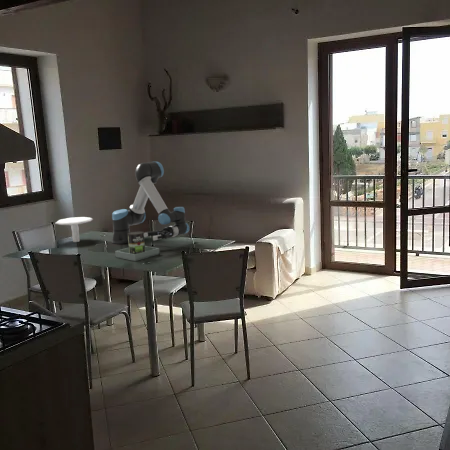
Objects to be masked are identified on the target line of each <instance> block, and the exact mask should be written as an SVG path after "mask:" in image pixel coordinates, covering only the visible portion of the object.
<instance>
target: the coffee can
mask: <svg viewBox="0 0 450 450" xmlns="http://www.w3.org/2000/svg"><path fill="white" fill-rule="evenodd" d="M144 233H145V232H144V231H139V230H138V231H130V233H128V242H129V243H128V248H129V253H130V254H138V253H142V252H145V246H146V244H145V237H144Z"/></svg>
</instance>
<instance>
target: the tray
mask: <svg viewBox="0 0 450 450" xmlns="http://www.w3.org/2000/svg"><path fill="white" fill-rule="evenodd" d="M114 253H115V258H118V259H124V260H128V261H132V262H137V261H141V260H144V259H147V258H151V257H155V256H159V255H160V248H159V247H152V246H148V245H145V252H142V253H138V254H130V253H129V247H126V248H122V249H118V250H115V251H114Z"/></svg>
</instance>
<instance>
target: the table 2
mask: <svg viewBox="0 0 450 450" xmlns="http://www.w3.org/2000/svg"><path fill="white" fill-rule="evenodd" d="M93 220H94V218H92V217H89V216H88V217H87V216H77V217H75V216H73V217H67V218H61V219H58V220H57V221H55V223H54V225H59V226H70V227H71V235H72V236H71V237H72V242H73V243H78V242H80V241H81V240H80V232H79V231H80V229H79V225H82V224H85V223H91V222H92V221H93Z"/></svg>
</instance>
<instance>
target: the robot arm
mask: <svg viewBox="0 0 450 450" xmlns="http://www.w3.org/2000/svg"><path fill="white" fill-rule="evenodd" d="M164 169H165V168H164V167H163V164H162V163H161V162H159V161H147V162H141V163H139V164H138V165H137V166H136V168H135V171H134V176H135V179H136V181H137V183H138V185H139V188H138V191H137V193H136V196H135V198H134V201H133V203H132V204H130V206H129V209H125V208H122V209H117V210H114V211H113V212H112V213H111V219H112V229H113V233H112V239H111V243H112V244H116V245H117V244H119V245H120V244H129V242H128V233H130V232H131V231H130V226H136V225H140V224H143V223H144V221H145V220H146V219H147V218H146V217H147V216H146V211H145V207H146V204H147V202H148V199H149V201H150V202H151V204H152V206H153V207H154V209H155V211H156V212H157V214H158V217H157V219H158V222H159V224H160V225H169V224H172V223H174V225H173V224H172V225H169V226H165V227H163V229H162V230H159V229H158V230H151V231H145V232H144V238H148V237H152V241H153V242H154V241H157V240H161V239H166V240H167V239H169V238H172V237H173V238H175V237H176V236H182V235H185V234H188V233H189V231H190V226H189V224H188V223H187V222H186V211H185V210H186V209H185V207H184V206H175V207H174V208H173V210H172V211H170V209H169V208H168V207H167V205H166V203H165V201H164V200H163V198H162V196H161V194H160V192H159V191H158V190H157V188H156V186H155V185H154V184H157V182H158V181H159V179H160V178H163V176H164V173H165V170H164Z"/></svg>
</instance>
